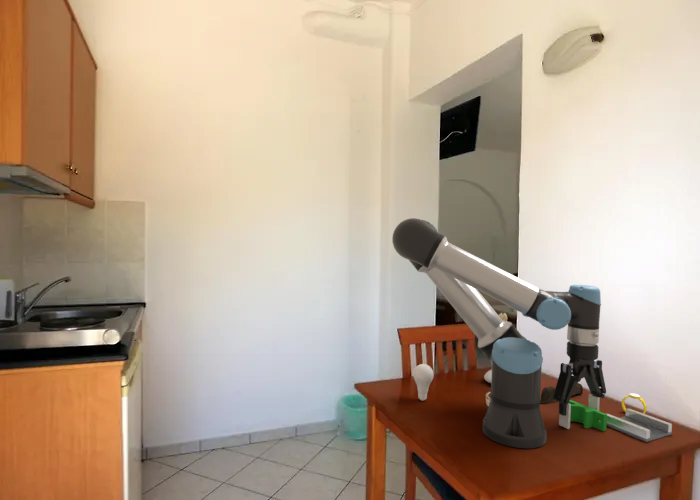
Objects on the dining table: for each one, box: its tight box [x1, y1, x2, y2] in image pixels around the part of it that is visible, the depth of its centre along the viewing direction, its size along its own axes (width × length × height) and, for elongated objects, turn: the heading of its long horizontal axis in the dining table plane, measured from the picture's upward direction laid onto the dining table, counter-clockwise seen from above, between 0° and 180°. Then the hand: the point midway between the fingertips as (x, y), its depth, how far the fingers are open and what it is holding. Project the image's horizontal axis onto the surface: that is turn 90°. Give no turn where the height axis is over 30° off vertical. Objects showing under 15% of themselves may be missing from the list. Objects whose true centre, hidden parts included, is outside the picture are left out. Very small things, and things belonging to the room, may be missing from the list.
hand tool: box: [540, 382, 584, 404], centre depth 138 cm, size 19×4×5 cm, turn 119°
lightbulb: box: [412, 363, 435, 401], centre depth 132 cm, size 6×6×11 cm
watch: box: [621, 392, 648, 414], centre depth 126 cm, size 6×3×6 cm, turn 42°
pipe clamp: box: [569, 399, 608, 432], centre depth 119 cm, size 11×4×5 cm, turn 25°
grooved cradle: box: [606, 408, 673, 443], centre depth 116 cm, size 11×11×3 cm
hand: (579, 423), depth 119 cm, fingers open, 11 cm apart
